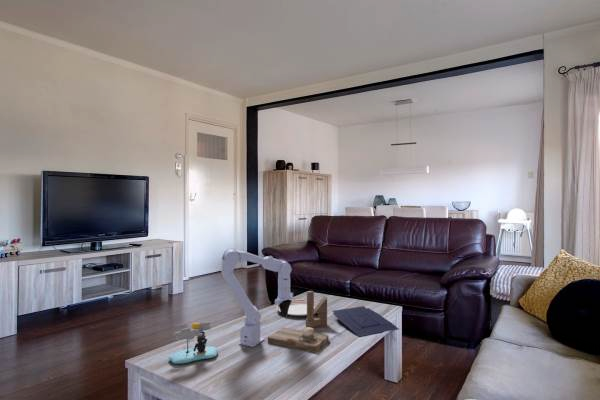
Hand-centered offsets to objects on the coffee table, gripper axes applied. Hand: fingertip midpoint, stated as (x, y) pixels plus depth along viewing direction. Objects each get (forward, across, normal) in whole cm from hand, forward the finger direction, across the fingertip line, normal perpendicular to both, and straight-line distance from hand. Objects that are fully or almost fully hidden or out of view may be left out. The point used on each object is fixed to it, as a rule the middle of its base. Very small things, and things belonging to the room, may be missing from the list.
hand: (284, 316), depth 176 cm
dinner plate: (+11, +40, +11) cm, 43 cm away
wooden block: (+11, +22, -7) cm, 25 cm away
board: (+10, -1, -8) cm, 13 cm away
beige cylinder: (+10, -1, -13) cm, 17 cm away
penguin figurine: (+10, -35, +23) cm, 44 cm away
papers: (+11, +35, -27) cm, 46 cm away
